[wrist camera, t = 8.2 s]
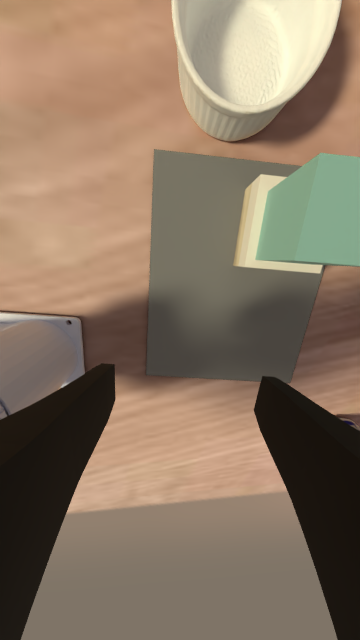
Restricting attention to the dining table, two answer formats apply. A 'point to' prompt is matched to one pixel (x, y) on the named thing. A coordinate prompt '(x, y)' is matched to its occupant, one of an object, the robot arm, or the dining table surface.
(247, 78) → the ramekin
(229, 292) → the mat
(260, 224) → the tower top
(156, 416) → the dining table surface
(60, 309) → the dining table surface
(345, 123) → the dining table surface
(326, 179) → the block
